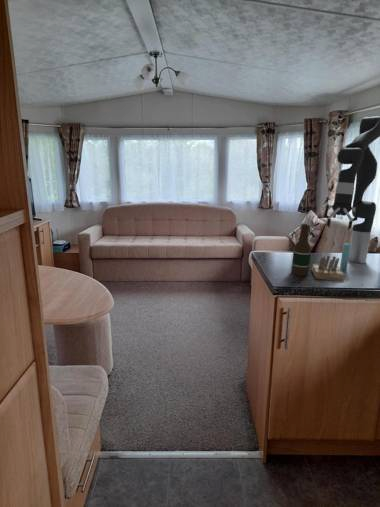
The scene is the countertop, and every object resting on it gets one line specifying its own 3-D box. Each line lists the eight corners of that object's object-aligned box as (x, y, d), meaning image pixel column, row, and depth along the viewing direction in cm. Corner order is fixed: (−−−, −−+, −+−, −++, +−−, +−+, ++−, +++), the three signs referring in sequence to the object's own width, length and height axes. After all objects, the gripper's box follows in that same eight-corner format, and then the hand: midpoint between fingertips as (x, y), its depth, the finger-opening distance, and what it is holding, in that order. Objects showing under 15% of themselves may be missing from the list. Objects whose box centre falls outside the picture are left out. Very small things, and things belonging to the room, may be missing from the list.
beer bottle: (308, 272, 165) (314, 223, 159) (307, 277, 158) (314, 226, 152) (291, 270, 168) (296, 222, 162) (290, 275, 161) (296, 225, 155)
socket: (311, 269, 170) (314, 251, 168) (337, 272, 168) (340, 254, 165) (315, 278, 157) (318, 259, 154) (343, 281, 154) (346, 261, 152)
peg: (338, 270, 171) (342, 243, 167) (345, 270, 170) (349, 243, 167) (340, 272, 168) (344, 244, 164) (347, 272, 167) (351, 245, 164)
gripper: (361, 194, 156) (355, 229, 158) (328, 192, 161) (322, 226, 164) (362, 194, 149) (355, 230, 152) (327, 191, 154) (321, 227, 157)
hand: (338, 228), depth 158 cm, fingers open, 8 cm apart
